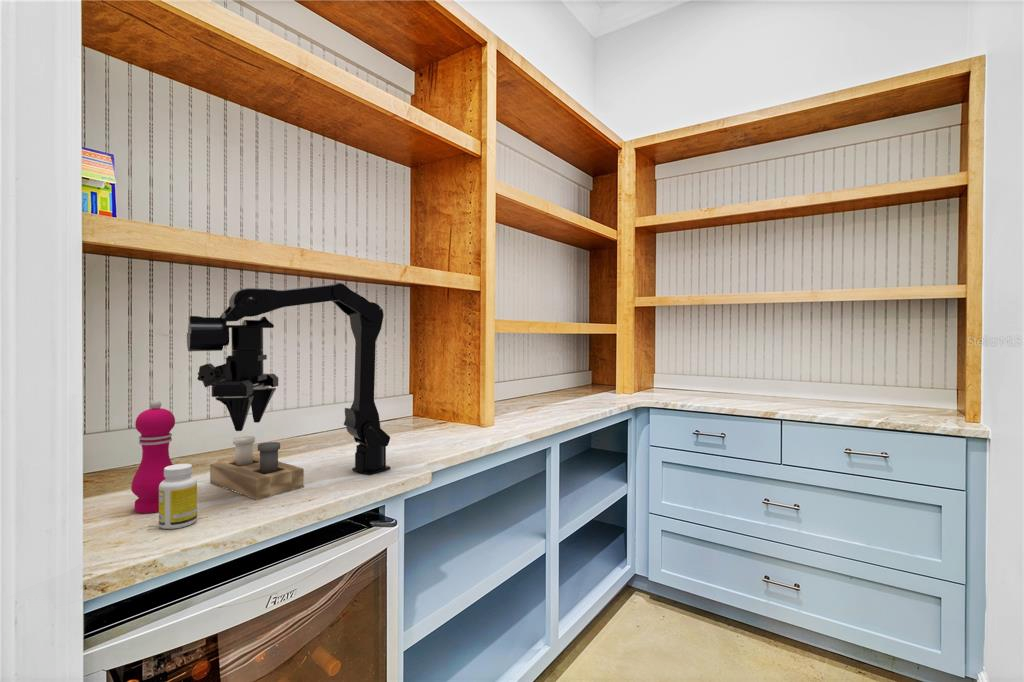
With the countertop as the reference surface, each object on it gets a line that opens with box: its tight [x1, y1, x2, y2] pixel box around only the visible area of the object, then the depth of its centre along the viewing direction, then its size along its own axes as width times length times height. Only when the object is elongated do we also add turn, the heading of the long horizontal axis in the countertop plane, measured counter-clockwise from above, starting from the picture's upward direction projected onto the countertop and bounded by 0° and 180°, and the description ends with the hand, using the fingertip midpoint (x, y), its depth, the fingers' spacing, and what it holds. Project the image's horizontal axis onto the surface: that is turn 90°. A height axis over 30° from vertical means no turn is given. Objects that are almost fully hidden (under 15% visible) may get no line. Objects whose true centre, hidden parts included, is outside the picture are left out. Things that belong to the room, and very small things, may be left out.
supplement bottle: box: [158, 463, 198, 530], centre depth 85 cm, size 5×5×10 cm
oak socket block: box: [209, 454, 305, 501], centre depth 106 cm, size 10×19×4 cm, turn 55°
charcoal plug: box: [257, 441, 281, 474], centre depth 103 cm, size 4×4×6 cm
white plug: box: [232, 435, 256, 467], centre depth 109 cm, size 4×4×6 cm
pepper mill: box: [130, 399, 176, 514], centre depth 92 cm, size 7×7×20 cm
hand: (248, 426), depth 102 cm, fingers open, 9 cm apart
